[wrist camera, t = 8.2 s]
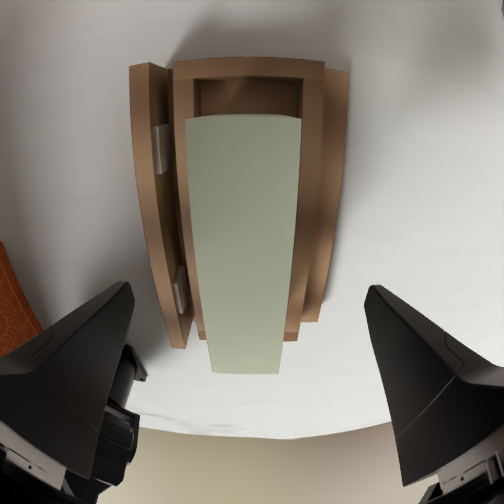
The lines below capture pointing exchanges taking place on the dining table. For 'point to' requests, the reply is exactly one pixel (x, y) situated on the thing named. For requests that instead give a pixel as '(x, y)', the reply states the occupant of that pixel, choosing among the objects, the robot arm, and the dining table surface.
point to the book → (14, 310)
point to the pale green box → (243, 233)
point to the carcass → (176, 179)
